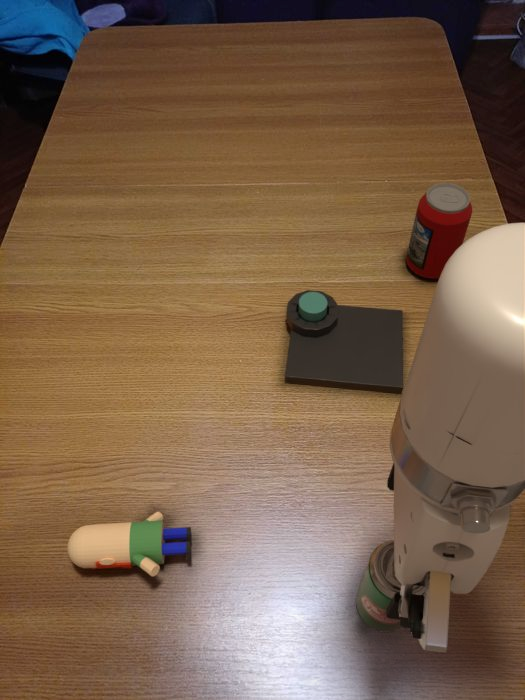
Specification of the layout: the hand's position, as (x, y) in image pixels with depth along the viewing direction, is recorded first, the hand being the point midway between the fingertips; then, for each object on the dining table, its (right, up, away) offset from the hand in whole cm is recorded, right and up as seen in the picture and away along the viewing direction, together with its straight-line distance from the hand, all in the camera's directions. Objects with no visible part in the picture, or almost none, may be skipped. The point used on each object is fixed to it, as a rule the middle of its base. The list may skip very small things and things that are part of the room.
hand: (407, 548), depth 46 cm
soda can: (+1, -10, +13) cm, 17 cm away
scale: (0, +15, +32) cm, 35 cm away
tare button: (-4, +20, +32) cm, 38 cm away
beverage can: (+12, +27, +40) cm, 50 cm away
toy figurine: (-24, -6, +17) cm, 30 cm away
